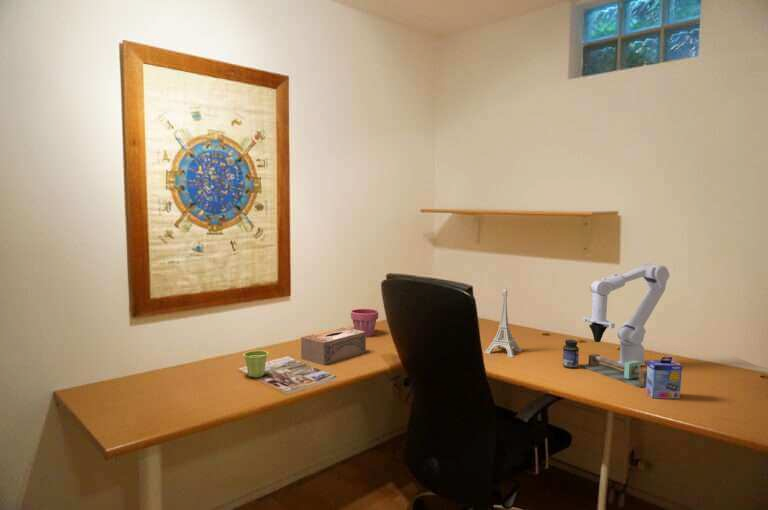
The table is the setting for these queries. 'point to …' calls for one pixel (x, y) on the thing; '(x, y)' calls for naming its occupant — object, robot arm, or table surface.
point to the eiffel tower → (504, 327)
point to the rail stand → (615, 370)
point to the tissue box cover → (333, 345)
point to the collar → (628, 369)
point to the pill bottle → (570, 354)
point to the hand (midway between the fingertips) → (597, 341)
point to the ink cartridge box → (663, 378)
